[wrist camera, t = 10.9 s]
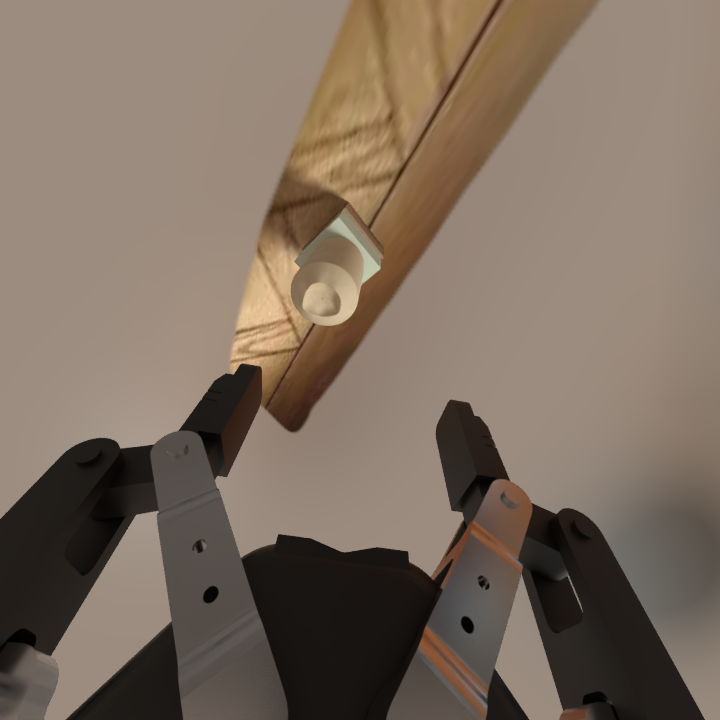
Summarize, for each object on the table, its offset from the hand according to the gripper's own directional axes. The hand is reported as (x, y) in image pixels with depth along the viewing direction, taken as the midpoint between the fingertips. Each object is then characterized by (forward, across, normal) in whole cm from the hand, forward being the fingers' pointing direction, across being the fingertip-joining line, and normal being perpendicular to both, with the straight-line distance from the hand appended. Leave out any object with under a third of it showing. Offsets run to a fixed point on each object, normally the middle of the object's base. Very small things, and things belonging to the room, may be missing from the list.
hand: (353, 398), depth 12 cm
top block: (+27, +3, +2) cm, 27 cm away
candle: (+22, +3, +1) cm, 22 cm away
